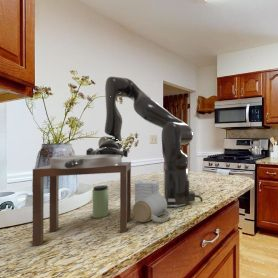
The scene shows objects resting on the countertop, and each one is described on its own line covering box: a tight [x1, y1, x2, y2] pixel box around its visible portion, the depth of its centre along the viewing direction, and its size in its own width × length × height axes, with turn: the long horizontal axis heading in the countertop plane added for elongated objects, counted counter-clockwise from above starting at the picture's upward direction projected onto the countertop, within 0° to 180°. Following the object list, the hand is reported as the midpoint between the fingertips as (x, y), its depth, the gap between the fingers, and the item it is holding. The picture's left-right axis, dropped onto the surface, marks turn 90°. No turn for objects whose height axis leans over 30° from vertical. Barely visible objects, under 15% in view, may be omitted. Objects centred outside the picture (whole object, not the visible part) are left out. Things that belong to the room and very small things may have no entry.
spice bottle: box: [92, 184, 109, 219], centre depth 71 cm, size 4×4×10 cm
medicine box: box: [134, 181, 160, 205], centre depth 84 cm, size 8×4×9 cm, turn 84°
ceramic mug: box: [132, 192, 171, 223], centre depth 68 cm, size 11×8×8 cm
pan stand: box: [32, 154, 132, 247], centre depth 56 cm, size 20×23×21 cm
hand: (107, 156), depth 82 cm, fingers open, 8 cm apart
